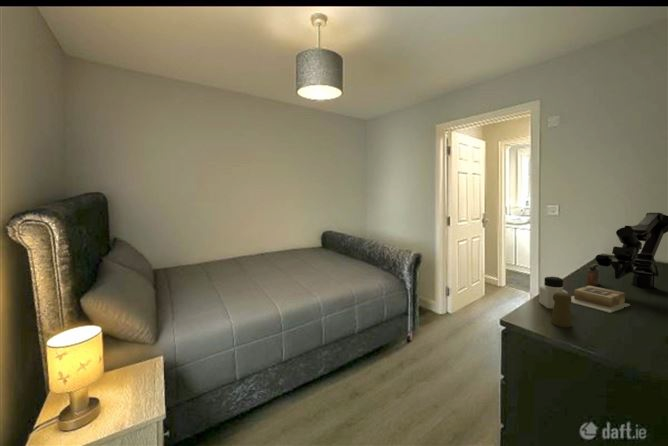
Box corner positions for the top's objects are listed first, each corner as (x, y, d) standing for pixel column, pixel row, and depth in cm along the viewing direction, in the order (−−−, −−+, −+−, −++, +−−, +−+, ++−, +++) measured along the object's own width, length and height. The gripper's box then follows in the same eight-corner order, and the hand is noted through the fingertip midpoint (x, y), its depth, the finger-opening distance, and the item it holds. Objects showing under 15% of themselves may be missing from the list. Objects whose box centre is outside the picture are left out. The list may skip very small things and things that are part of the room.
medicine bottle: (567, 309, 115) (568, 280, 114) (547, 308, 116) (548, 279, 115) (557, 303, 122) (558, 275, 121) (538, 302, 123) (539, 275, 122)
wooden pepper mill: (546, 320, 105) (547, 291, 104) (561, 319, 106) (562, 290, 105) (560, 327, 99) (561, 296, 98) (576, 326, 100) (578, 295, 99)
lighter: (593, 286, 142) (593, 266, 141) (584, 284, 145) (585, 265, 144) (600, 283, 146) (601, 264, 145) (592, 282, 149) (593, 263, 148)
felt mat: (582, 294, 131) (582, 293, 131) (629, 305, 117) (629, 304, 117) (562, 300, 125) (562, 299, 124) (609, 313, 110) (609, 311, 110)
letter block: (589, 285, 130) (574, 289, 124) (625, 292, 119) (610, 297, 114) (589, 294, 130) (574, 298, 125) (624, 302, 119) (610, 307, 114)
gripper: (597, 237, 137) (584, 263, 133) (653, 242, 120) (640, 272, 116) (605, 251, 141) (593, 277, 137) (661, 258, 124) (648, 288, 120)
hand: (616, 278), depth 127 cm, fingers closed
